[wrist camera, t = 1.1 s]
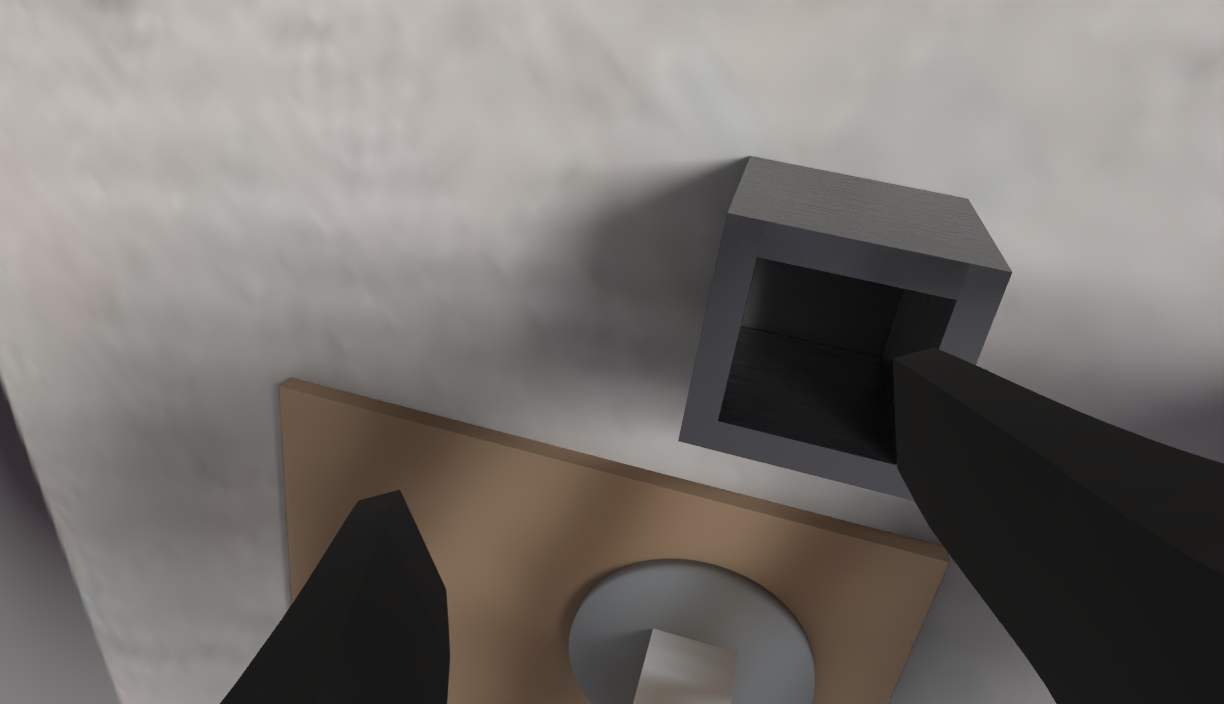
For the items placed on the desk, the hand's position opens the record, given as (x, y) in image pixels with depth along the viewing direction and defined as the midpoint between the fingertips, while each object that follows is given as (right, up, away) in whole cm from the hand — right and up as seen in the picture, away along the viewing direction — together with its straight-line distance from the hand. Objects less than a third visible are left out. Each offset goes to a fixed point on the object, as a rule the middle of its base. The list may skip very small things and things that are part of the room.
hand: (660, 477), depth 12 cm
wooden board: (-2, -6, +15) cm, 17 cm away
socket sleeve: (+5, +4, +8) cm, 10 cm away
